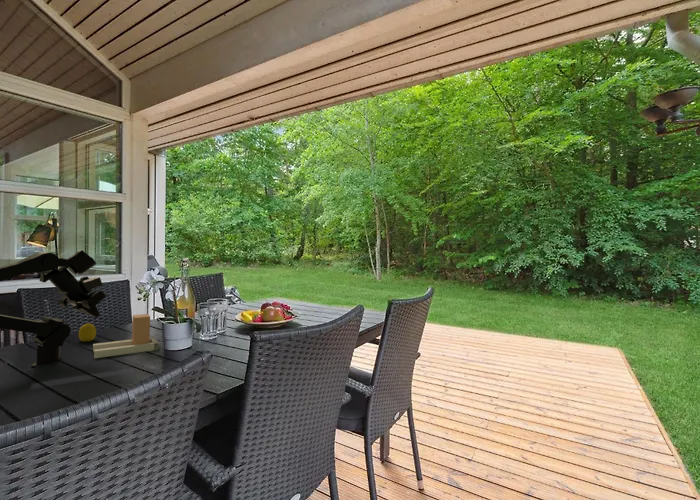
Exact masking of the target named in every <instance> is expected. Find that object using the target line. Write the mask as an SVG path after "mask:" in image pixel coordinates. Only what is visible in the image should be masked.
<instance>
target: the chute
mask: <svg viewBox="0 0 700 500" xmlns="http://www.w3.org/2000/svg"><path fill="white" fill-rule="evenodd" d="M159 346H160V345H159V342H158V340H157V339H156V337H154V336H153V337H152V336H150V341H149V343H145V344H137V345H132V339H124V340H116V341H108V342H99V343H93V344H92V352H93V353H94V354H93V358H94V359H100V358H107V357H114V356H120V355H127V354H128V355H129V354H136V353H144V352H150V351H158V350H159Z"/></svg>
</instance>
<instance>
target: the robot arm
mask: <svg viewBox="0 0 700 500" xmlns="http://www.w3.org/2000/svg"><path fill="white" fill-rule="evenodd" d="M96 265H97V262H96V260H95V259H94V258H93V257H92V256H90V255H89V254H88V253H87V252H85V251H84V250H82V249H78V250H77V251H76V252H75V253H74V254H73V255H71V256H68V257H67V258H63V257H59V256H58V255H57V254H55V253H53V252H49V251H48V252H47V251H39V252H36V253H34V254H31V255H29V256H27V257H24V258H23V259H21V260H19V261H16V262H12V263H10V264H5V265H2V266H0V282H3V281H6V280H10V279H12V278H15V277H18V276H22V275H29V274H37V273H40V277H39V279H38V280H39V282H41V283H47V282H48V281H50V283H52V285H53V286H54V287H55V288H56V289H57V290H58V291H57V293H58V294H59V295H63V296H61V298H59V299H58V301H57V305H59V307H60V308H65V309H66V308H68V304H70V305H72V307H71V309H72V310H75V311H78V312H81V313H83V314H87V315H89V316H92V317H94V318H99V316H101V314H100V313H99V309H98V308H97V305H98V304H99V303H100V302H102V301H103V300H104V299H105V298H106V297H107V294H106V293H105V292H104V291H102V290H99V291H98V290H97V291H96V290H94V291H93V289H95V288H98V287H102V286H103V281H102V279H101V277H100V276H94V277H88V276H82V277H80V279H77V278H76V277H75V275H77V274H78V275H83V274H85V272H87V271H89V270H90V269H92V268H94V266H96ZM44 272H47V273H44ZM1 329H2V330H9V331H14V332H22V333H28V334H34V335H35V336H34V337H33V341H34V344H35V345H37V346H36V362H35V363H33V364H31V365H30V367H32V368H35V367H36V365H38V364H41V365H42V364H43V365H44V364H50V363H53V362H57V361H60V360H61V347H62V346H64V343H65V340H66V339H67V338H68V337H69V336H70V334H71V332H72V331H71V327H70V325H69V324H67V323H65V320H63V319H59V318H50V317H47V316H45V315H44V316H42V319H40V320H39V319H38V320H35V319H30V318H29V319H27V318H22V317H17V316H11V315H5V314H0V330H1Z"/></svg>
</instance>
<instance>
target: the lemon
mask: <svg viewBox="0 0 700 500" xmlns="http://www.w3.org/2000/svg"><path fill="white" fill-rule="evenodd" d="M95 337H97V328H96V326H95V325H94V324H92V323H90V322H87V323H84V324H83V325H82V326H80V328H79V330H78V338H79V340H80V341H81V342H84V343H85V342H91V341H93V340H94V339H95Z"/></svg>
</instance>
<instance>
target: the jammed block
mask: <svg viewBox="0 0 700 500" xmlns="http://www.w3.org/2000/svg"><path fill="white" fill-rule="evenodd" d="M131 323H132V325H131V328H132V329H131V330H132V331H131V340H132V345H137V344H145V343H149V341H150V337H151V336H150V335H151V334H150V333H151V332H150V331H151V330H150V328H151V315H150V314H148V313H145V314H133V315H132V322H131Z"/></svg>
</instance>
